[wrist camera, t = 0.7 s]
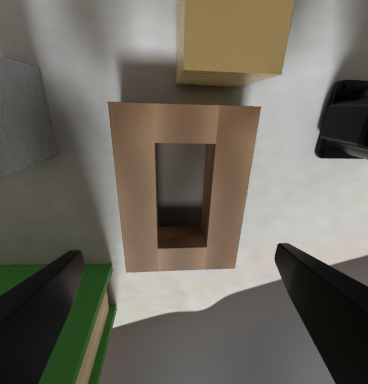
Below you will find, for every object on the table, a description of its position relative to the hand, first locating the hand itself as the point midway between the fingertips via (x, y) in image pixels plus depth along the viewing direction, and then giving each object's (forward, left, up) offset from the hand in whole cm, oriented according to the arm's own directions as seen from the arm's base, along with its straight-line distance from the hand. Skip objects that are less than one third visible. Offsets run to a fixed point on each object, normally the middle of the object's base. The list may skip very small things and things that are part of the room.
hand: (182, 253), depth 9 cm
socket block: (-1, +1, -11) cm, 11 cm away
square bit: (-3, -10, -11) cm, 15 cm away
